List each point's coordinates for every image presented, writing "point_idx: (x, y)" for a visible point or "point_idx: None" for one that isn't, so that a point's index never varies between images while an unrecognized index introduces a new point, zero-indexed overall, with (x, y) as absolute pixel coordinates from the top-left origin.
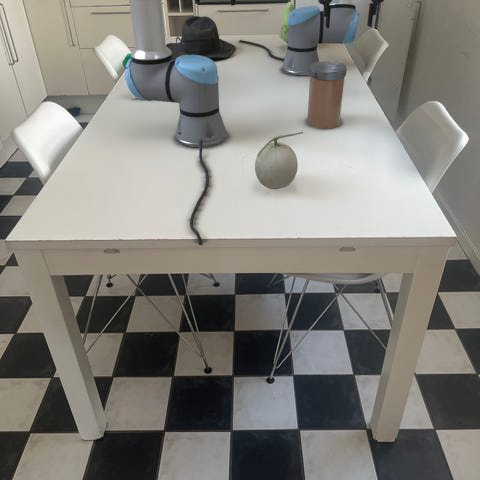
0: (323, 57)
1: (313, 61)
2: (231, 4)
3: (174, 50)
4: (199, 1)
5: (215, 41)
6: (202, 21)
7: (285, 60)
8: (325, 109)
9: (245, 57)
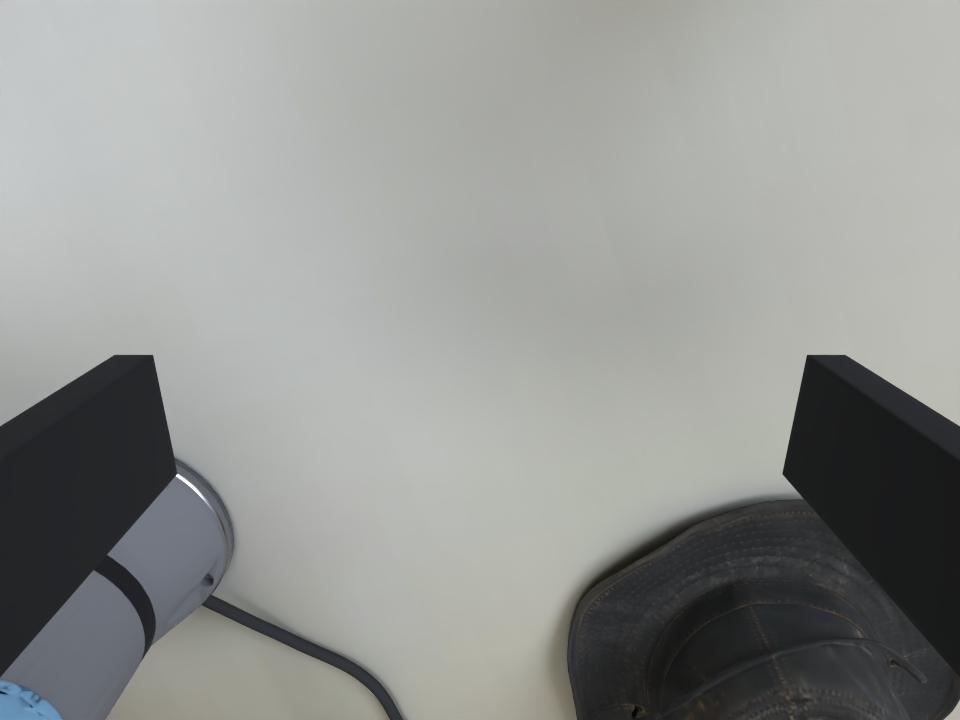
0: (126, 715)
1: None
2: (135, 363)
3: (896, 613)
4: (793, 469)
5: (674, 698)
6: None
7: (172, 522)
8: None
9: (491, 641)
